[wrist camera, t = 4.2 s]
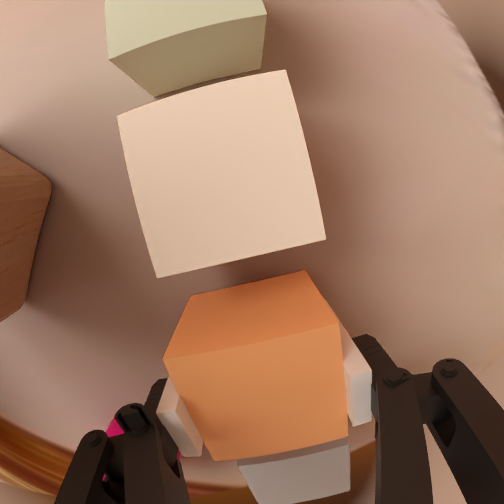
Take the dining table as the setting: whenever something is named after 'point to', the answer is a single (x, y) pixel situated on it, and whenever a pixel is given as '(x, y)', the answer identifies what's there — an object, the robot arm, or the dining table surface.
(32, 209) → the wooden block
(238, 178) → the cream cube
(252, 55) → the sage cube
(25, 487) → the dining table surface
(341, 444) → the grey cube
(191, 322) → the orange cube
